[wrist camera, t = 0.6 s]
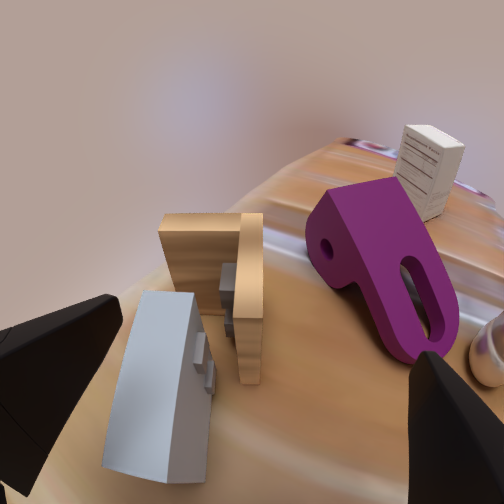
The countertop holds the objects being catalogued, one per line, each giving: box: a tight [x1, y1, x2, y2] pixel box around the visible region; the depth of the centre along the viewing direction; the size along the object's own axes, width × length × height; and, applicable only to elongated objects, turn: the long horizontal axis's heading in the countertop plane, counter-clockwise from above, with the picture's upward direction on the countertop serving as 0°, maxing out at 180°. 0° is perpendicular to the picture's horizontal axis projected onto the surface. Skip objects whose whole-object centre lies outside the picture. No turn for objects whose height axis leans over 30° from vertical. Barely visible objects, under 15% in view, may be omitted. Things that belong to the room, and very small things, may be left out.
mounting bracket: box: [305, 176, 459, 364], centre depth 26 cm, size 9×8×18 cm
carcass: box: [158, 213, 263, 385], centre depth 21 cm, size 9×7×10 cm
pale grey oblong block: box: [102, 290, 216, 483], centre depth 15 cm, size 10×5×10 cm, turn 179°
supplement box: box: [393, 125, 465, 222], centre depth 35 cm, size 7×7×13 cm
